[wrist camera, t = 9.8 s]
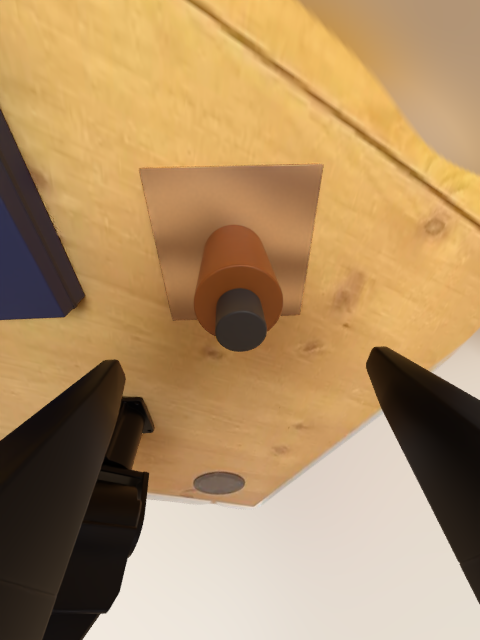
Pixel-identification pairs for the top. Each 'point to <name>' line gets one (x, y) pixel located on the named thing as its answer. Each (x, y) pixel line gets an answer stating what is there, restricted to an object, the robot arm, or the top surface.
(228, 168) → the coaster
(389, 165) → the top surface
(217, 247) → the bottle
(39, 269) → the case
